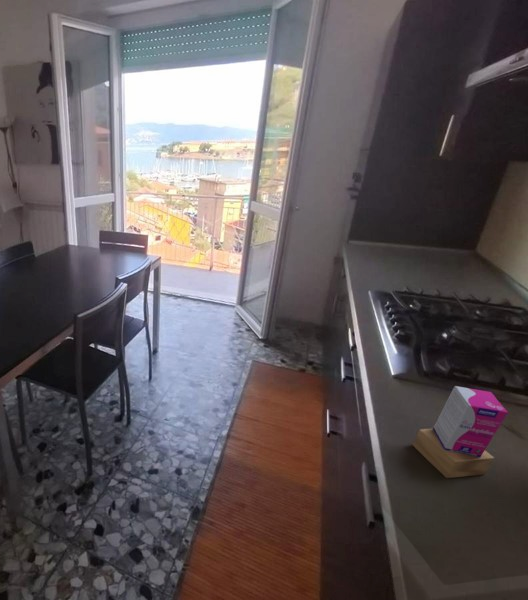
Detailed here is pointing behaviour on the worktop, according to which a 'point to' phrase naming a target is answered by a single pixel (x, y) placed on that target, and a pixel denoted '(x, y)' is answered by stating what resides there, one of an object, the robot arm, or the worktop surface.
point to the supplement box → (469, 421)
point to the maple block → (450, 457)
